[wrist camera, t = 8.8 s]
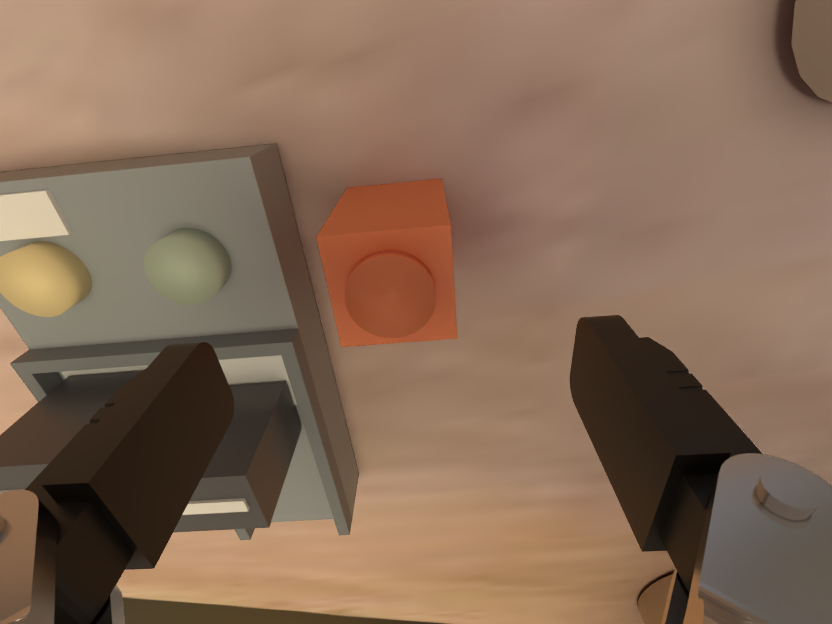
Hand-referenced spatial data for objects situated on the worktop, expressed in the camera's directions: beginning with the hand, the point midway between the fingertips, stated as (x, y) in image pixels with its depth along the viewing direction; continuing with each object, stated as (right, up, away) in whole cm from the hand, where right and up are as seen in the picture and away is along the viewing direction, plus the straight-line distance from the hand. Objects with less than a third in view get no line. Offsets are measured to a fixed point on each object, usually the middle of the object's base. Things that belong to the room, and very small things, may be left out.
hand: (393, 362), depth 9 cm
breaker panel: (-10, -1, +13) cm, 16 cm away
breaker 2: (-7, -3, +10) cm, 13 cm away
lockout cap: (0, +5, +9) cm, 10 cm away
